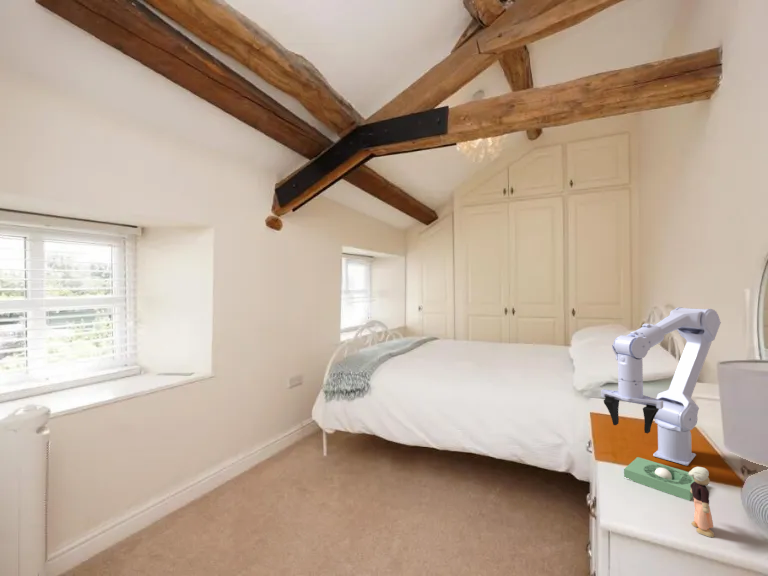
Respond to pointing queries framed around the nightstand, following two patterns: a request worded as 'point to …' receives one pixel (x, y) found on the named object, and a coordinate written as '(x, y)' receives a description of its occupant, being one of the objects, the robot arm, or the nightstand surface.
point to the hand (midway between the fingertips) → (631, 428)
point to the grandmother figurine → (701, 501)
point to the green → (660, 478)
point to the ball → (663, 473)
